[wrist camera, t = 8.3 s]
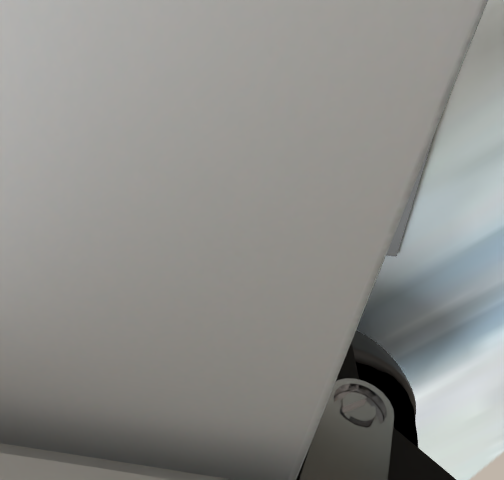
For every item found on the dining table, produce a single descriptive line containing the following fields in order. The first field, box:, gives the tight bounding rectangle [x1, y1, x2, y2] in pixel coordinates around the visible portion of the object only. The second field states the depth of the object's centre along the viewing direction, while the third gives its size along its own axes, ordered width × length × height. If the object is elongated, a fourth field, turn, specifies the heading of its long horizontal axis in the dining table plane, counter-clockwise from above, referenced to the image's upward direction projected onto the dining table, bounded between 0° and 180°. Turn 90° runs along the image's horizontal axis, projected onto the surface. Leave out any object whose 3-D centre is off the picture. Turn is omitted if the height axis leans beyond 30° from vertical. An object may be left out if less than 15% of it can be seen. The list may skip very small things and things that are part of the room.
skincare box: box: [0, 0, 488, 480], centre depth 13 cm, size 21×6×16 cm, turn 170°
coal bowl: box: [296, 331, 418, 480], centre depth 43 cm, size 20×20×19 cm
